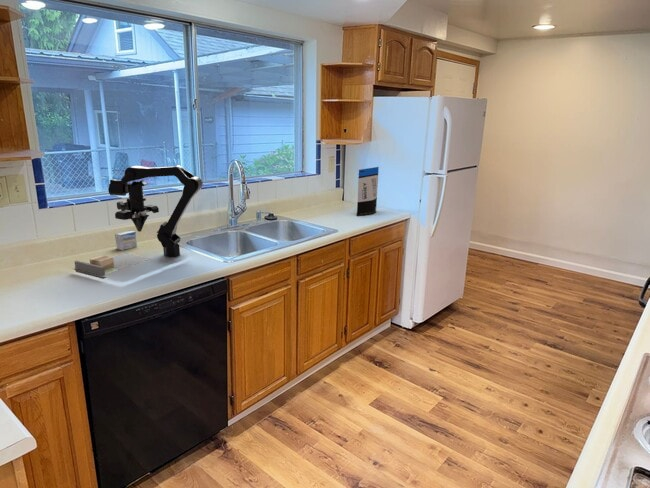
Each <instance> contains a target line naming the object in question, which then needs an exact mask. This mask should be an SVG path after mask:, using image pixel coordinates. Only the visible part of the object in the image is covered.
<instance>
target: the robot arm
mask: <svg viewBox="0 0 650 488" xmlns="http://www.w3.org/2000/svg"><path fill="white" fill-rule="evenodd" d="M171 176H172V177H173V176H174V177H176V178H177V180H178V181H179V183H181V184H182V185H183V189H182V195H181V197H180V198H179V200H178V202H177V204H176V206H175V207H174V209H173V211H172V213H171V215H170V217H169V219H168V220H167V221H164V222H163V223H161V224H160V225H159V229H158V230H157V231H156V233H157V234H156V238H157V240H158V242H159V243H160V244H161V246H162V248H163V249H162V250H163V256H165V257H167V258H176V257H179V256H181V250H180V249H181V248H180V244H179V243H180V241H181V237H180V236H179V235H178V234H176V233H177V229H178V225H179V223H180V220H181V219H182V217H183V216H184V213H185V212H186V210H187V207H188V206H189V204H190V202H191V201H192V199H193V197H195V196H196V194H197V193H198V192H199V191H200V190H201V189H202V188H203V180H202V179H201V178H200V177H199V176H195V175H194V174H193V173H191V172H190V171H188V170H186V168H184V167H183V166H181V165H176V166H158V167H149V166H148V167H147V166H143V165H142V166H141V165H132V166H128V167H126V168H125V170H124V175H123V176H122V178H121V179H115V178H114V179H113V178H111V179H110V180H109V183H108V184H109V185H108V190H107V191H108V194H109V195H110V196H119V197H121V196H122V197H123V196H127V194H128V198H126V202H123V201H117V202H116V209H117V210H118V211H116V212H115V213H114V214H115V215H114V218H115V219H116V220H122V221H126V220H127V221H128V220H131V221H132V223H133V224H134V226H135V228H136V231H137V232H138V233H140V232H142V230H143V227H144V225H145V223H146V221H147V219H148V218H149V217H150V214H147V213H149V212H151V213H153V214H156V213H160V209H159V206H157V205H153V204H148V205H145V201H147V198H146V197H144V190H143V187H145V186H147V185H148V183H147V182H146V181H145V180H144V179H147V178H155V177H156V178H157V177H158V178H159V177H171ZM130 182H131V183H130Z"/></svg>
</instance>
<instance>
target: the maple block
mask: <svg viewBox="0 0 650 488" xmlns="http://www.w3.org/2000/svg"><path fill="white" fill-rule="evenodd" d="M89 264H93V265H97V266H101V267H104V270H106V269H109V268H112V267H114V261H113V256H108V255H99V256H96V257H93V258H89ZM114 268H115V267H114ZM112 269H113V268H112Z"/></svg>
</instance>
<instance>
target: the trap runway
mask: <svg viewBox="0 0 650 488" xmlns="http://www.w3.org/2000/svg"><path fill="white" fill-rule="evenodd" d="M112 257H113V261H114V267H112V268H109V269H106V270H104V267H101V266H97V265H93V264H90V262H89V263H88V262H84V261H80V260H74V262H73V263H74V267H75V273H79V274H82V275H86V276H87V275H88V276H91V277H94V278H98V279H101V280H105V279H106V276H105V275H108V274H110V273H114V272H116V271H119V270H123V269H125V268H129V267H131V266H134V265H136V264H140V263H144V262H145V261H149V260H151V259H152V257H147V256H143V255H142V256H141V255H137V254H133V253H129V252H123V253H120V254H117V255H113V256H112ZM122 265H127V266H124V267H121V266H122ZM117 267H121V268H118V269H117Z"/></svg>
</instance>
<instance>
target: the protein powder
mask: <svg viewBox="0 0 650 488" xmlns="http://www.w3.org/2000/svg"><path fill="white" fill-rule="evenodd" d="M379 168H380V167H379V166H376V167H368V168H363V169H362V168H361V169H358V180H357V181H358V182H357V206H356V217H364V216H365V217H366V216H372V215H375V214H376V213H377V201H378V200H377V199H378V187H379V186H378V184H379Z"/></svg>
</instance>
